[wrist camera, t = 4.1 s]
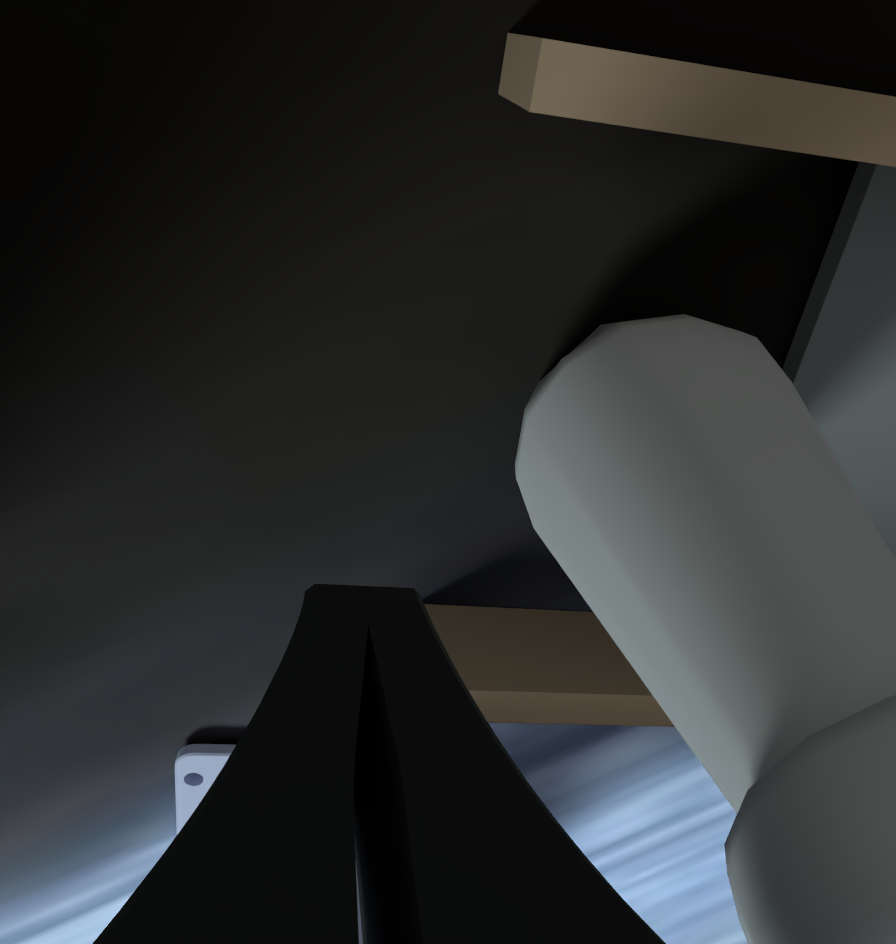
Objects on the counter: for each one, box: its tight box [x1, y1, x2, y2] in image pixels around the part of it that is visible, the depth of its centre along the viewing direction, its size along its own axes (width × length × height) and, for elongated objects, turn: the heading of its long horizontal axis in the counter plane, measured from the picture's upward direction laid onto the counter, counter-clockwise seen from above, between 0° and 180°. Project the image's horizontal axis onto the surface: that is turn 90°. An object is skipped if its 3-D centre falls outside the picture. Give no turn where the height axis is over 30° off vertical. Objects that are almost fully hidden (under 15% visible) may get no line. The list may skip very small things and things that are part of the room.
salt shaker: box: [515, 314, 896, 944], centre depth 13 cm, size 6×6×13 cm
